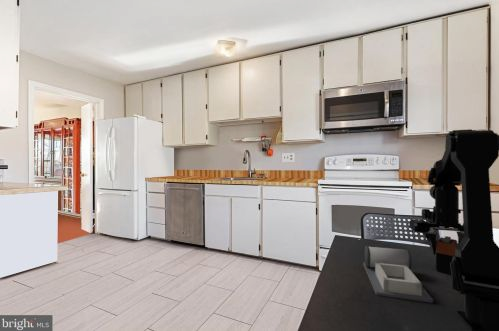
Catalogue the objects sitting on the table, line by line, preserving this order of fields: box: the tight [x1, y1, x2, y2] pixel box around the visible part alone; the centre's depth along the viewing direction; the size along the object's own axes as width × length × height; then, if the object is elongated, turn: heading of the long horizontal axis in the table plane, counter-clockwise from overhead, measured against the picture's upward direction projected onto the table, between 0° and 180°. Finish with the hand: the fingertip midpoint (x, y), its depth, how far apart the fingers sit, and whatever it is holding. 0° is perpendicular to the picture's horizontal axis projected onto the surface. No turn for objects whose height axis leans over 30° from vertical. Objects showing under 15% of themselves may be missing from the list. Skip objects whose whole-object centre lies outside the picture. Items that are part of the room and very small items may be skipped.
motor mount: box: [362, 245, 434, 304], centre depth 69 cm, size 20×12×7 cm, turn 164°
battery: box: [435, 235, 458, 275], centre depth 76 cm, size 4×7×10 cm, turn 133°
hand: (446, 255), depth 76 cm, fingers closed on battery, 6 cm apart
